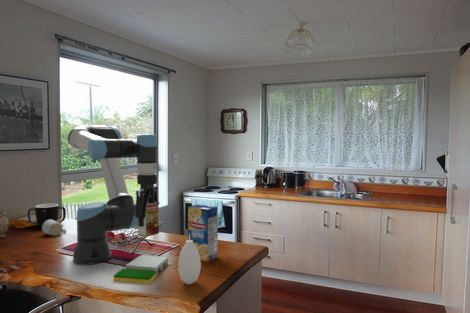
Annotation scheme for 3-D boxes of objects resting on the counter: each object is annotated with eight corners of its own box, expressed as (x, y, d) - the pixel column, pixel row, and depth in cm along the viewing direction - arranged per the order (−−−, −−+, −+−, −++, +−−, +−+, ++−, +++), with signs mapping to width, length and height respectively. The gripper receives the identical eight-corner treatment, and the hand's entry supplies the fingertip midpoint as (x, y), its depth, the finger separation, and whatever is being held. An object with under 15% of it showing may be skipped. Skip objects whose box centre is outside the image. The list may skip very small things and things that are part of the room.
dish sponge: (149, 285, 125) (149, 278, 125) (113, 282, 127) (113, 275, 127) (157, 277, 132) (157, 270, 132) (122, 274, 134) (122, 268, 134)
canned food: (151, 236, 134) (149, 205, 133) (134, 236, 136) (132, 205, 136) (163, 231, 141) (160, 201, 141) (146, 230, 144) (144, 201, 143)
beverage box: (207, 261, 148) (207, 209, 146) (187, 256, 154) (187, 206, 153) (217, 257, 153) (217, 207, 152) (198, 252, 159) (198, 204, 158)
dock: (126, 272, 135) (126, 265, 135) (141, 262, 147) (140, 254, 147) (155, 275, 133) (155, 267, 132) (168, 264, 144) (168, 257, 144)
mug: (54, 221, 217) (53, 201, 216) (68, 225, 207) (68, 204, 207) (25, 226, 203) (25, 205, 203) (39, 230, 194) (39, 209, 193)
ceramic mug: (49, 237, 181) (49, 222, 181) (41, 235, 186) (41, 220, 185) (69, 233, 190) (69, 219, 189) (61, 231, 194) (61, 217, 194)
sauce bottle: (174, 285, 123) (174, 235, 123) (185, 277, 131) (185, 229, 130) (194, 289, 121) (194, 237, 120) (204, 280, 128) (204, 231, 127)
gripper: (143, 176, 127) (144, 239, 128) (166, 171, 147) (167, 225, 148) (124, 176, 128) (125, 238, 130) (150, 171, 149) (150, 224, 150)
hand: (147, 231), depth 139 cm, fingers closed on canned food, 8 cm apart
